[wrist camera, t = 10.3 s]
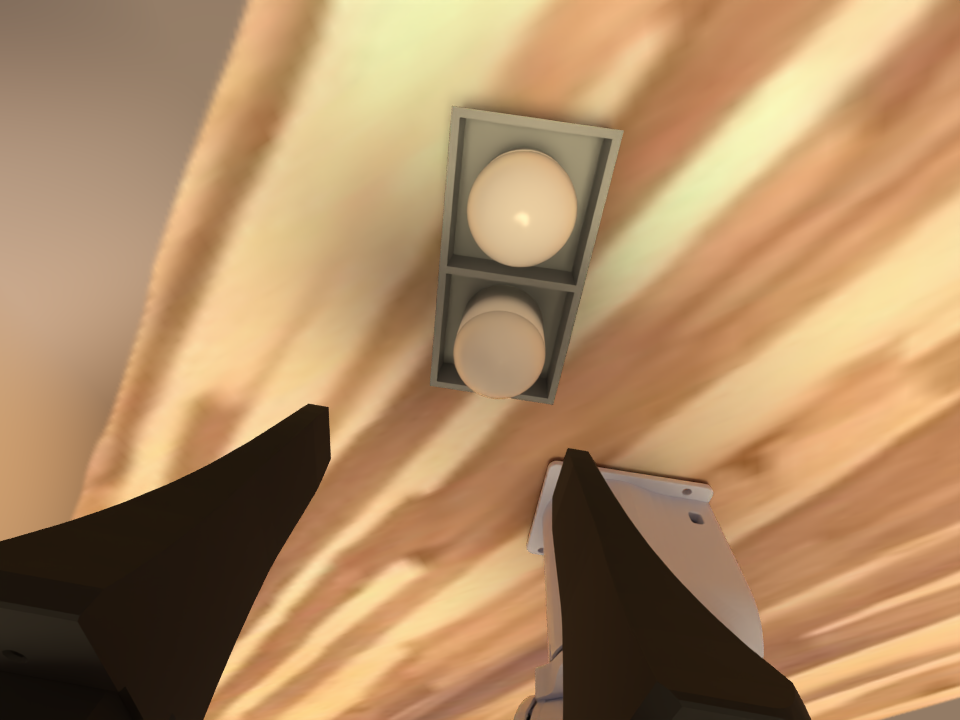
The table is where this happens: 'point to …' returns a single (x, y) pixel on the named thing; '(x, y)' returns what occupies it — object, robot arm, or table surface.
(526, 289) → the egg carton
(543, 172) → the cream rounded cylinder
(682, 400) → the table surface
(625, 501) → the robot arm
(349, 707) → the table surface
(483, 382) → the carton egg
